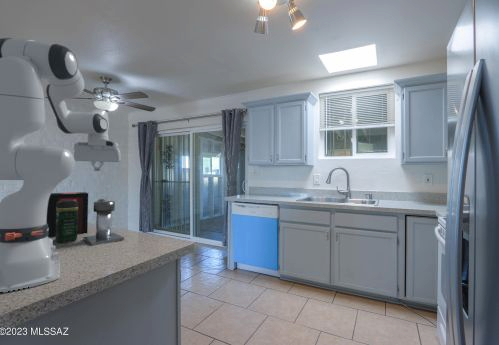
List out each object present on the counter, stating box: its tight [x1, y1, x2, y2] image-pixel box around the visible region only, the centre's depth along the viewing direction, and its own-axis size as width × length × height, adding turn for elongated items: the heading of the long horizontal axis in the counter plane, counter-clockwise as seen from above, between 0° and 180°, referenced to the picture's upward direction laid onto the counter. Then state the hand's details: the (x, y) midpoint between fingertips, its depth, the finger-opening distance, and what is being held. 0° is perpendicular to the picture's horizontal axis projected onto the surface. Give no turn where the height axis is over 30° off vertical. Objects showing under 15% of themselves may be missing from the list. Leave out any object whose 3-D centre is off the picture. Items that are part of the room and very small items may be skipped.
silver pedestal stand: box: [82, 211, 125, 246], centre depth 117 cm, size 13×13×13 cm
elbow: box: [93, 198, 116, 213], centre depth 119 cm, size 15×8×5 cm, turn 36°
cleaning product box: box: [47, 191, 89, 238], centre depth 127 cm, size 16×9×20 cm, turn 130°
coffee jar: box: [54, 199, 78, 243], centre depth 115 cm, size 10×8×19 cm
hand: (97, 170), depth 126 cm, fingers closed
